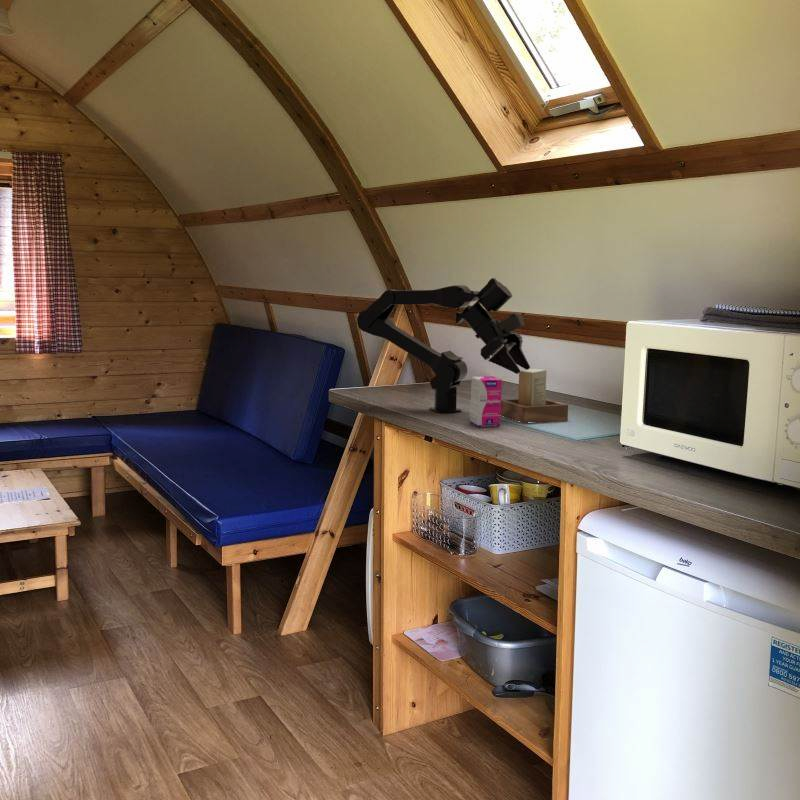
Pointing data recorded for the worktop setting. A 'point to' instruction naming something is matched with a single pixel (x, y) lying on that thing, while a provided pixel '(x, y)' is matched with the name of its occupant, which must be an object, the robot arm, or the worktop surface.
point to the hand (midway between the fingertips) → (523, 370)
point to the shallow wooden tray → (534, 411)
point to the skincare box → (532, 387)
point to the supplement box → (485, 401)
